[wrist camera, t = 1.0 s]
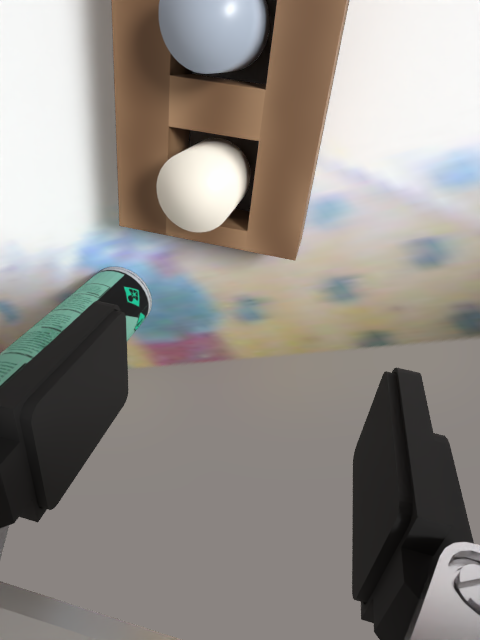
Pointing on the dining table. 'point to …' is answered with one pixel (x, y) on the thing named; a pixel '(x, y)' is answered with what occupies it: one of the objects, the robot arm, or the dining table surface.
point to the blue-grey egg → (214, 33)
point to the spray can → (103, 287)
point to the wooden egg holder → (226, 120)
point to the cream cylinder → (203, 184)
